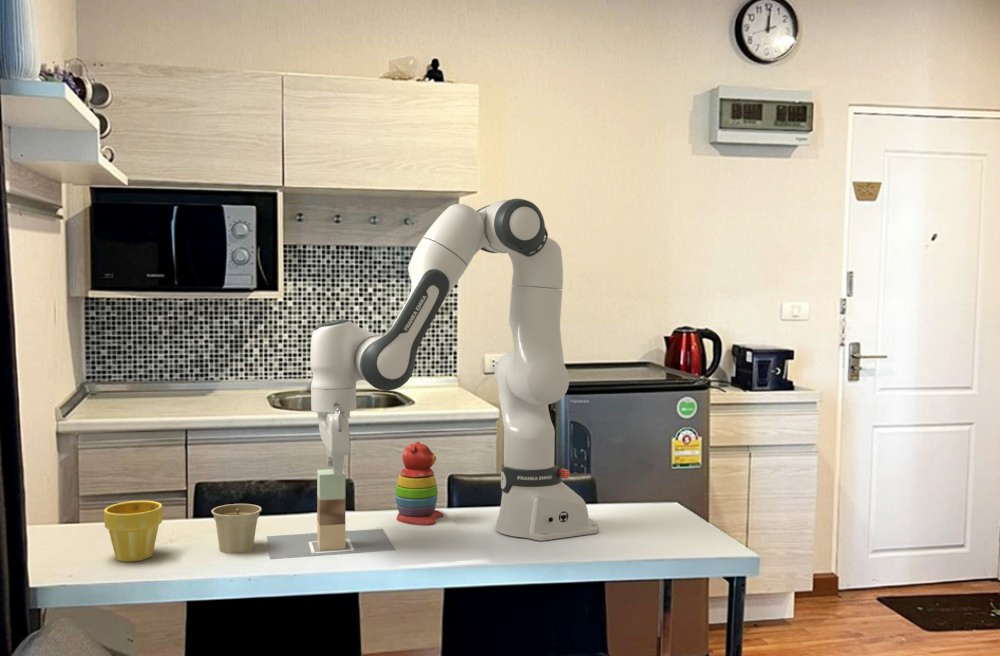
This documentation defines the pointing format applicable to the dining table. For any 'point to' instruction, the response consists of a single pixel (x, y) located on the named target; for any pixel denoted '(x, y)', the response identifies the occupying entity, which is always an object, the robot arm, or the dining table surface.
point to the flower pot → (236, 527)
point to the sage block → (330, 485)
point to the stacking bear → (417, 487)
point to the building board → (304, 551)
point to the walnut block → (330, 511)
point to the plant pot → (133, 528)
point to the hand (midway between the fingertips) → (335, 470)
